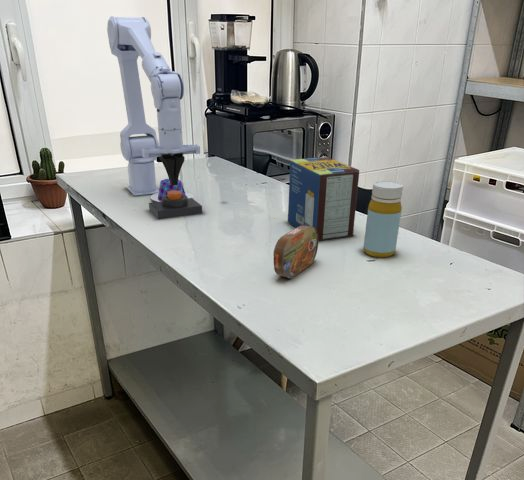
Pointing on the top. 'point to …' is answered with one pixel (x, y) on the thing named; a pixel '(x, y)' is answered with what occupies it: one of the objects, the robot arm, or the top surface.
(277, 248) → the tin
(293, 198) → the protein box
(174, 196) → the button
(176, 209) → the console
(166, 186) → the pudding
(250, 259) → the top surface
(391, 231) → the bottle
